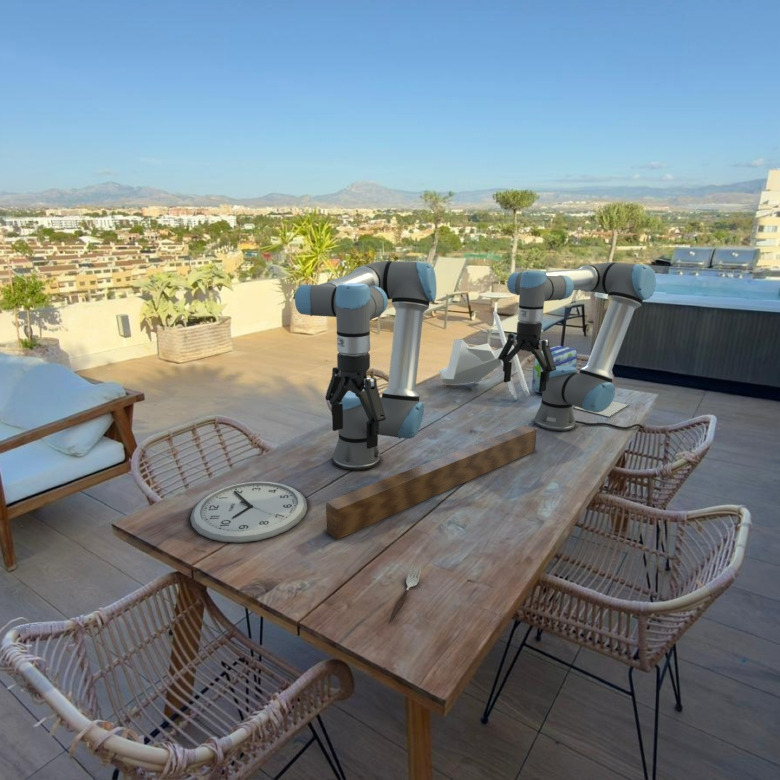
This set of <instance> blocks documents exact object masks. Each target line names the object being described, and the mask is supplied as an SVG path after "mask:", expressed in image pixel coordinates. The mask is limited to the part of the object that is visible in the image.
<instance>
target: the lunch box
mask: <svg viewBox="0 0 780 780" xmlns="http://www.w3.org/2000/svg"><path fill="white" fill-rule="evenodd" d="M550 350H551V353H552V356H553V360H554V363H555V366H570V367H575V368H577V359H578V351H577V348H575V347H567V346H563V345H556V346H553V347H550ZM541 352H542V354H543V351H542V350H541ZM543 356H544V354H543ZM544 358H545V357H544ZM542 371H543V370H542V368H541V366H540V364H539V363H538V361H537V359H536V357H535V356H534V360H533V367H532V380H531V382H532V383H531V385H532V386H531V388H532V392H534V393H539V394H542V392H539V385H540V374H541V372H542Z"/></svg>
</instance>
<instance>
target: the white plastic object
mask: <svg viewBox="0 0 780 780" xmlns="http://www.w3.org/2000/svg"><path fill="white" fill-rule="evenodd" d="M492 315H493V319H494V321H495V324H496V325H495V326H496V328H497V332H498V335H499V338H500V342H501V345H502V347H500V348H498V349H496V350H495V349H493V348H492V347H491V346H490V344H489V343H488V342H487V343H483V344H479V345H473V346H469V345H468V343H466V342H465V340H464V339H463V338H460V339H458V338H454V340H453V344H452V349H451V353H450V357H449V362H448V366H446V367H444V368H442V369H440V370H439V371H438V372H439V376H440V381H442V383H443V384H444V385H445V386H449V385H458V384H467V383H468V384H469V383H473V384H477V383H480V382H482V381H484V378H485V377H486V376H487V375H489V374H490V373H492V372H494V371H495V370H496V369H497V368H499V367H500V366H502V368H503V361H502V360H499V358H498V357H499V355H500V353H501V351H502V350H503V348H504V346H505V344H506V342H507V340H508V339H507V337H506V334H505V331H504V328H503V325H502V321H501V318H500V315H499V314H498V312H497V311H496V310H495V311H492ZM514 347H515V345H514V344H513V345H512V347H511V349H510V351H509V352H508V354H509V353H510V352H511V351H512V349H513V348H514ZM508 354H507V355H508ZM511 360H513V363H514V366H515V369H516V372H517V376H518V380H519V382H520V385H521V389H522V391H523V393H524V395H525V396H526V397H528V396H531V395H530V390H529V388H528V387H529V386H528V384H527V381H526V378H525V375H524V371H523V369H522V368H523V367H522V366H521V362H520V359H519V355H518V353H517V354H516V355H515V356H514V357H513V358H512V359H511ZM506 383H507V386H508V390H509V393H510V394H511V395H512V397H513V398H514V399H515V400H517V392H516V391H517V390H516V388H515V385H514V381H513V378H512V377H511V381H509V382H506Z"/></svg>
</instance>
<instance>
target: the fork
mask: <svg viewBox="0 0 780 780" xmlns="http://www.w3.org/2000/svg"><path fill="white" fill-rule="evenodd" d="M412 568H413V565H410V569H409V572H408V574H407V577H406V579H405V584H406V589H405V590H404V591H403V593H402V594H401V596H400V597H399V599H398V601H397V604H396V607H395V609H394V612H393V614H392V617H391V620H394V619H395V617H396V615H397V614H398V613H399V611H400V609H401V608H402V607H403V605H404V603H405V601H406V598H407V596H408V592H409V590H410V588H413V587H415V586H417V585H418V583H419V579H420V575H421V572H422V568H420V569H419V567H416V566H414V568H413V569H412ZM415 569H416V571H415ZM418 570H419V572H418Z"/></svg>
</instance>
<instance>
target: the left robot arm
mask: <svg viewBox="0 0 780 780" xmlns="http://www.w3.org/2000/svg"><path fill="white" fill-rule="evenodd" d="M436 297H437V277H436V272H435V269H434V266H433V265H432V264H431V263H429V262H423V261H422V262H421V261H403V260H402V261H397V260H380V261H375V262H371V263H368V264H367V263H366V264H364V265H360V266H358V267H356V268H355V269H353V270H352V272H351V273H349V274H346V275H343V276H340V277H338V278H334V279H332V280H329V281H327V282H323V283H319V284H312V283H309V284H301V285H299V286H298V287H297V289H296V290H295V294H294V307H295V309H296V311H297V312H298V313H299V314H301V315H305V316H310V317H330V318H336V351H337V352H338V353H337V354H336V366H335V367H332V370H331V377H330V382H329V383H328V384H329V385H328V388H327V391H326V393H325V401H328V402H329V404H330V405H331V406H330V407H331V423H332V427H331V428H332V431H333V432H336V431H338V438H337V439H338V440H337V441H336V442H337V443H336V445H335V449H334V452H333V455H332V460H333V461H332V462H333V464H334V465H335V466H336V467H338V468H340V469H342V470H343V469H344V470H348V471H366V470H369V469H372V468H375V467H377V466H379V464H380V463H381V454H382V450H379V444H378V443H379V439H378V438H379V436H384V437H385V436H386V437H391V438H393V437H394V438H398V439H407V440H408V439H413V438H415V437H416V436H417V434H418V433H419V431H420V428H421V426H422V422H423V418H424V413H425V404H424V403H423V402H422V401H420V394H419V393H418V391H416V386H417V379H418V368H419V357H420V351H421V350H420V349H421V339H422V330H423V319H424V313H426V312H427V311H428V310H429V309H430V308H429V307H430V303H433V302H435V300H436ZM389 300H391V306H392V307H393V308H394V310H395V312H394V313H395V314H394V324H393V334H392V343H391V353H390V363H389V371H388V379H387V380H388V382H387V387H386V388H385V389H384V390H382V391H381V396H380V393H379V390H378V382H377V377H371V378H369V377H368V375H367V371H369V370H370V368H371V354H370V353H369V352H370V351H371V320H374V319H376V318H379V317H381V315H382V314H383V313H384V312H385V311H386V310H387V307H388V303H389Z"/></svg>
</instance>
